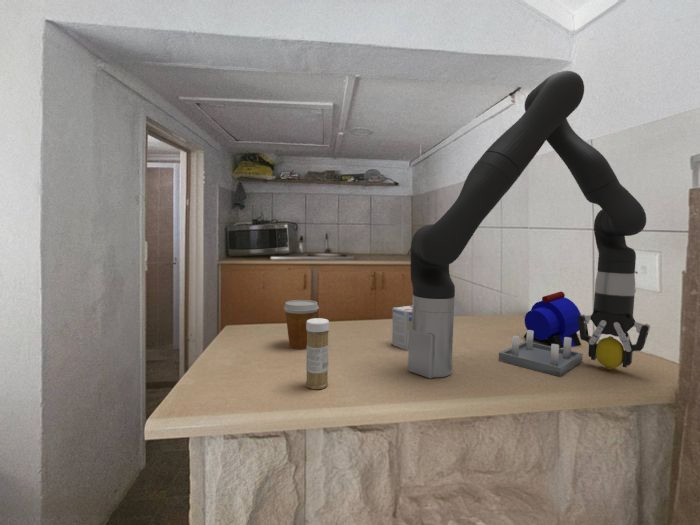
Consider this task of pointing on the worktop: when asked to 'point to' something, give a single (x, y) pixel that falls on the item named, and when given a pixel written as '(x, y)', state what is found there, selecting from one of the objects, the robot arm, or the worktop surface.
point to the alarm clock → (554, 320)
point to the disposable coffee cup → (299, 321)
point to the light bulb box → (401, 326)
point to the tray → (541, 355)
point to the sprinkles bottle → (317, 353)
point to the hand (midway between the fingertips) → (609, 362)
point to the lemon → (609, 352)
